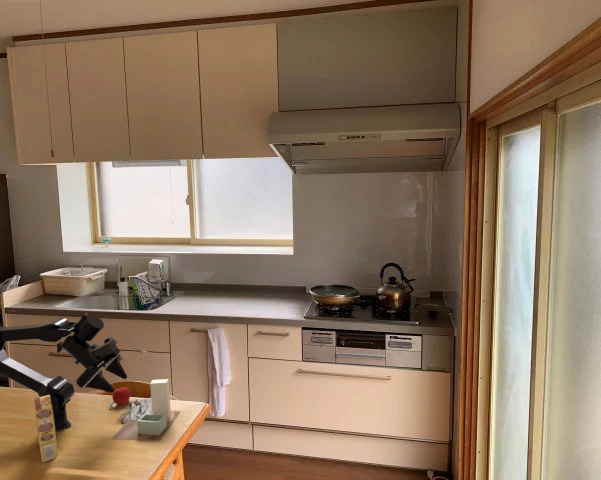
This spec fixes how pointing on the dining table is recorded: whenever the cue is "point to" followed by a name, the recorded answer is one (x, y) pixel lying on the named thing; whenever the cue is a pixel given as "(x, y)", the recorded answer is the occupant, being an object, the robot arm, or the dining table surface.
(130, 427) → the walnut board
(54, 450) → the candy box
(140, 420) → the slot box
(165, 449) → the dining table surface
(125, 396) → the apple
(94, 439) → the dining table surface
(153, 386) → the tall beige block
